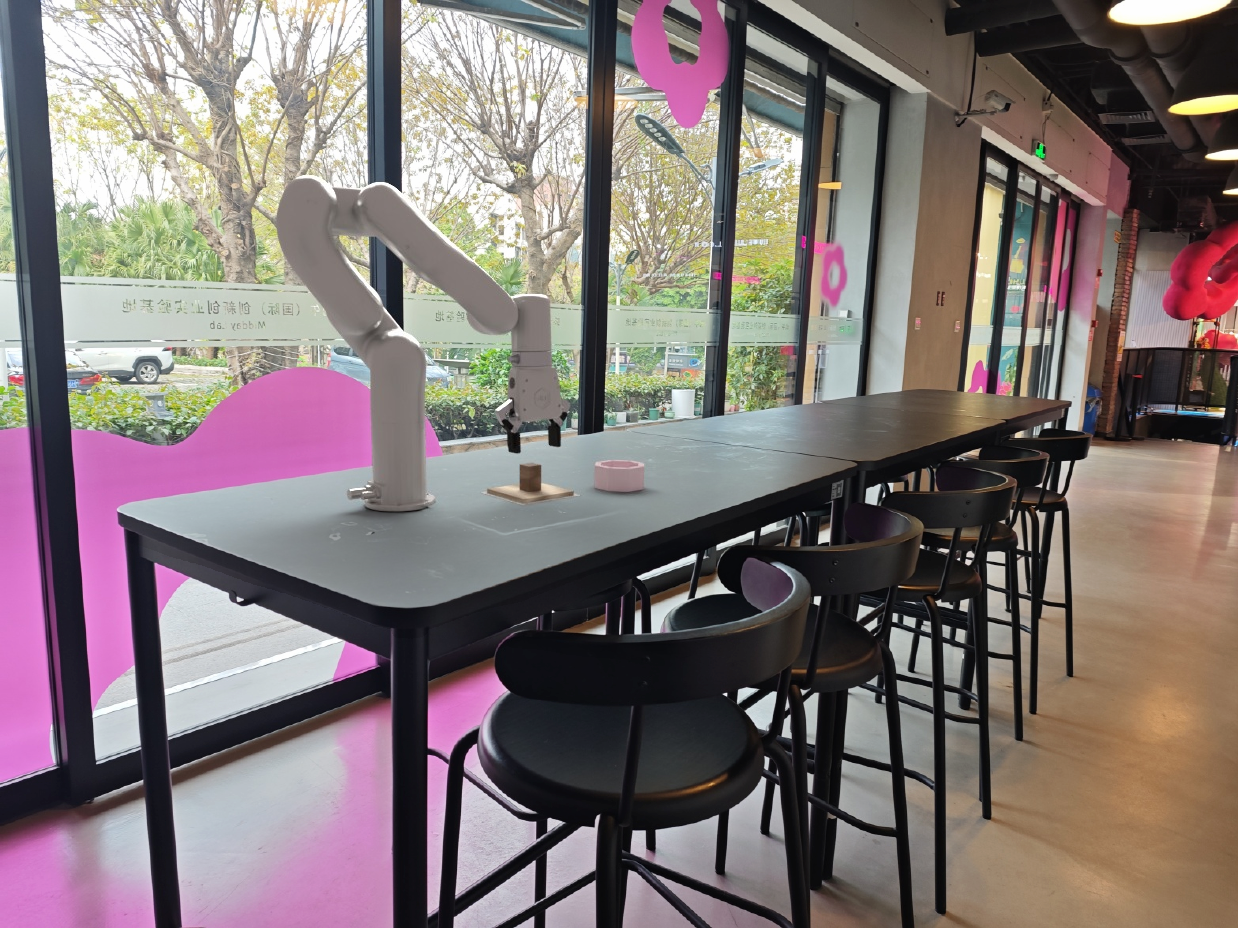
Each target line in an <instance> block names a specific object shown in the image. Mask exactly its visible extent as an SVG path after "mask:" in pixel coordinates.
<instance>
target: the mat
mask: <svg viewBox="0 0 1238 928" xmlns="http://www.w3.org/2000/svg"><path fill="white" fill-rule="evenodd" d="M480 494H483V495H486V496H489V497H494V498H496V499H499V500H503V501H506V502H511V503H513V504H517V505H521V506H526V505H531V504H532V505H533V504H539V503H545V502H551V501H556V500H557V501H558V500H562V499H563V500H564V499H568V498H569V499H570V498H575V497H580V496H581V494H577V493H574V495H572V496H565V497H559V498H553V499H547V500H541V501H535V502H529V503H521V502H517V501H514V500H510V499H507V498H504V497H500V496H497V495H493V494H490V493H487V491H481V492H480Z"/></svg>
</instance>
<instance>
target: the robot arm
mask: <svg viewBox="0 0 1238 928" xmlns="http://www.w3.org/2000/svg"><path fill="white" fill-rule="evenodd" d="M275 221H276V222H275V224H276V235H277V238H278V244H279V246H280V249H281V252H282V253H283V255H284V257H285V260H286V261H287V263H288V265H290V267H291V268H292V270H293V272H294V273H295V274H296V275H297V277H298V278H299V279H300V280H301V281H302V283H303V284H304V285H305V287H306V289H307V290H308V291H309V292H310V293H311V294H312V297H314V298H315V299H316V301H317V302H318V303H319V304H320V306H321V307H322V308H323V309H324V311H325V314H326V317H327V319H328V321H329V322H330V324H331V325H332V327H333V328H334V329H335V330H336V332H337V333H338V334H339V336H340V337H341V338H342V339H343V340H344V341H345V342H346V343H347V345H348V346H349V347H350V349H352V351H353V352H354V353H355V354H356V356H357V357H359V359H360V360H361V361H362V362H363V364H364V365H365V366H366V367H367V368H368V370H369V376H370V377H369V378H370V380H369V382H370V383H369V385H370V387H369V389H370V390H369V391H370V392H369V393H370V396H369V398H370V400H369V401H370V402H369V403H370V405H369V406H370V424H371V425H370V429H371V430H370V431H371V433H370V434H371V459H372V460H371V461H372V463H371V464H372V480H368V481H366V482H367V484H366V485H364V486H363V487H356V488H355V487H354V488H348V489H347V490H346V495H347V496H346V497H347V499H348V500H349V501H350V500H351V501H352V500H359V499H361V500H362V501H364V506H365V507H366V508H368V509H370V510H374V511H380V512H408V511H417V510H418V511H419V510H424V509H428V508H429V507H430V506H431V505H433V504H435V503H436V496H435V495H433V494H431V493H429V492H428V489H427V488H428V487H427V485H428V484H427V450H426V448H427V443H426V438H427V437H426V379H427V378H426V377H427V360H426V354H425V350H424V348H423V346H422V345H421V343H420V341H419V340H418V339H416V337H414V336H413V335H412V334H410V333H408V332H406V331H404V330H403V329H402V328H401V327H400V325H399V324H398V323H397V322H396V320H395V319H394V318H393V317H392V315H391V314H390V313H389V312H388V311H387V309H386V308H385V307H384V305H383V300H382V298H381V297H380V294H379V293H378V292H377V291H376V290H375V288H373V287H372V286H371V285H370V284H369V283H368V282H367V280H366V279H365V278H364V276H362V274H361V273H360V272H359V271H358V269H356V267H355V266H354V265H353V263H352V262H351V261H350V260H349V258H348V257H347V255H346V254H345V253H344V251H343V250H342V249H341V248H340V246H339V245H338V243H337V241H336V240H335V237H334V236H344V237H345V236H346V237H364V238H365V237H369V238H370V237H371V238H372V237H373V238H374V237H376V238H377V239H378V240H379V241H380V242H381V243H382V244H383V245H385V246H386V247H387V249H388V250H390V251H391V252H392V253H393V254H394V255H395V257H397V258H398V259H399V260H400V261H401V262H402V263H403V264H405V266H407V268H409V269H410V270H411V271H412V272H413V273H414V274H415V275H416V276H417V277H418V278H420V279H421V280H423V281H424V282H426V283H428V284H430V285H432V286H433V287H436V288H438V289H439V290H441V291H442V292H443V293H445V294H446V295H447V296H449V297H450V298H451V300H452V299H453V300H454V301H455V302H456V303H457V304H458V305H459V306H460V307H461V308H462V309H464V310H465V311H466V319H467V322H468V324H469V325H470V327H471V328H472V329H473V330H474V331H476V332H478V333H480V334H482V335H490V336H503V335H507V334H508V333H510V337H511V338H510V339H511V341H510V342H511V343H510V344H511V355H508V356H507V362H508V363H509V364H511V368H510V369H509V373H508V381H507V391H506V392H507V393H506V394H507V396H506V401H505V402H504V403H503V404H501V405H500V406H498V407H497V408H496V409H494V410H493V411H494V415H495V417H496V419H497V421H498V424H499V425H500V427H501V428H502V429H503V431H504V432H506V442H507V443H506V444H507V448H508V449H507V450H508V452H509V453H513V454H515V455H516V454H517V455H519V454H520V453H521V452H522V451H521V450H522V445H521V432H519V429H520V428H521V426H522V424H523V422H524V423H531V422H533V423H534V422H539V421H547V422H548V423H549V424H550V425H548V426H547V440H548V445H549V446H550V447H554V448H555V447H556V448H560V447H561V446H562V431H561V430H562V429H561V428H562V427H563V426H564V422H565V420H566V419H567V418H568V413H569V410H570V408H571V402H569V401H568V400H566V399H564V398H562V394H561V387H560V380H559V376H558V372H557V368H556V366H553V356H552V355H553V354H552V352H553V351H552V348H553V347H552V326H551V325H552V323H551V322H552V321H551V318H552V316H551V301H550V298H549V297H548V296H547V295H546V294H542V293H541V294H538V293H530V294H529V293H528V294H527V293H526V294H525V293H524V294H523V293H522V294H515V295H513V296H512V295H510V294H509V293H508V292H507V291H506V290H505V289H504V288H503V287H502V286H501V285H500V284H499V283H498V282H497V281H496V280H495V279H494V278H493V277H492V276H491V275H490V274H489V273H488V272H487V271H485V269H483V268H482V267H481V266H480V265H479V264H477V262H475V261H474V260H473V259H472V258H470V257H469V256H468V255H467V254H466V253H465V252H464V251H462V250H461V248H459V247H458V246H457V245H456V244H454V243H453V242H452V241H450V240H449V238H448V237H446V236H445V235H444V234H443V233H442V232H441V231H440V230H439V229H438V228H437V227H436V226H435V225H434V224H433V223H432V222H431V221H430V220H429V219H428V218H427V217H426V216H425V215H424V214H423V213H422V212H421V211H420V210H419V209H418V207H416V206H415V205H414V204H413V202H411V201H410V200H409V198H407V197H406V196H405V195H404V193H402V192H401V191H399V190H398V189H397V188H396V187H395V186H393V185H391V184H389V183H388V182H373V183H371V184H368V185H367V186H364V188H356V187H355V188H354V187H342V186H341V187H339V186H331V185H330V184H329V183H328V182H326V181H325V180H324V179H322V178H320V177H318V176H316V175H311V174H308V175H307V174H306V175H305V174H304V175H301V176H298V177H295V178H294V179H292V180H291V181H290V182H289V183H288V184H287V186H286V187H285V189H284V191H283V192H282V194H281V198H280V201H279V203H278V207H277V212H276V217H275ZM506 414H507V416H508V419H507V416H506Z"/></svg>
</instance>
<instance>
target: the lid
mask: <svg viewBox="0 0 1238 928" xmlns="http://www.w3.org/2000/svg"><path fill="white" fill-rule="evenodd" d="M486 492H487V493H490V494H493V495H497V496H500V497H504V498H507V499H510V500H514V501H517V502H521V503H529V502H535V501H541V500H547V499H553V498H559V497H565V496H572V495H574V494H575V491H574V490H570V489H567V488H564V487H559V486H556V485H551V484H549V483H548V484H547V483H545V482H544V483H543V482H542V464H539V463H534V462H528V463H519V483H516V484H511V485H510V484H509V485H504V486H496V487H491V488H486Z"/></svg>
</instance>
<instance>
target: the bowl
mask: <svg viewBox="0 0 1238 928" xmlns="http://www.w3.org/2000/svg"><path fill="white" fill-rule="evenodd" d="M593 478H594V481H593V482H594V488H595V489H598V490H601V491H606V492H625V493H627V492H628V493H629V492H634V491H635V492H636V491H640V490H645V489H644V487H645V462H640V461H636V460H630V459H629V460H627V459H626V460H625V459H624V460H622V459H607V460H601V461H596V462H595V464H594V477H593Z"/></svg>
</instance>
